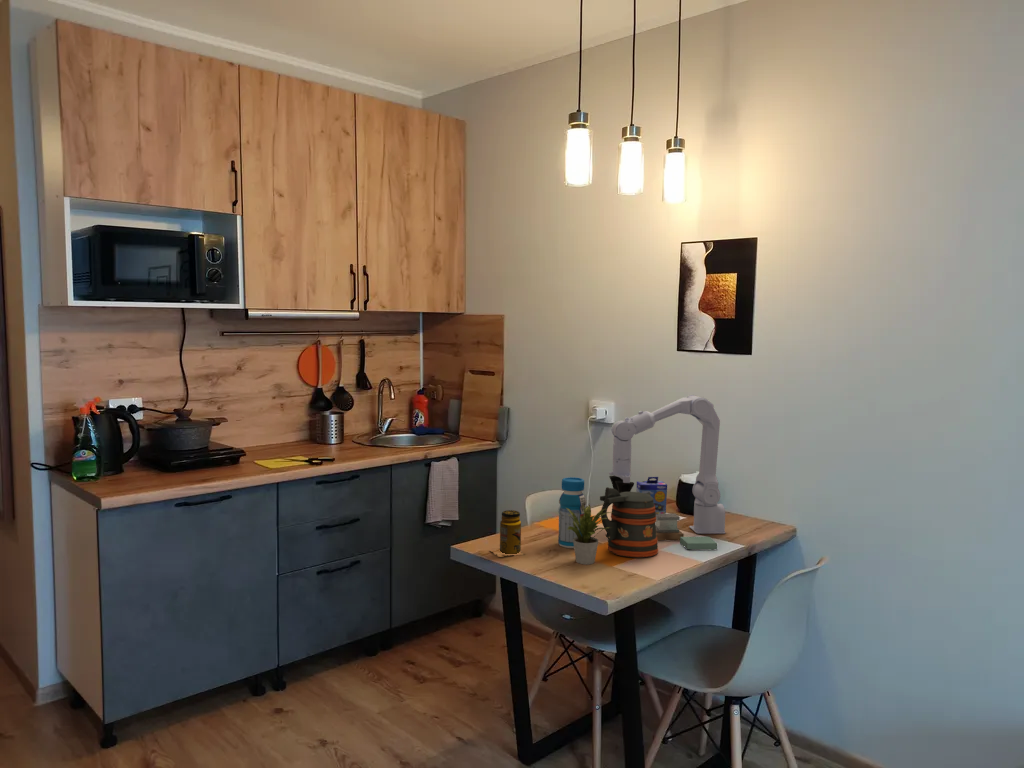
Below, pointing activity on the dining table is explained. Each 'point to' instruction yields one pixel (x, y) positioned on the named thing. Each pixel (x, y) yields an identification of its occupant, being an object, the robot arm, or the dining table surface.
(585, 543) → the house plant
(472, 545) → the dining table surface
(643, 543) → the beer stein
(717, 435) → the robot arm
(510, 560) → the dining table surface
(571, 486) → the beverage bottle
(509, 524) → the condiment
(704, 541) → the stand
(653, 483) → the ink cartridge box
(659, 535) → the stand
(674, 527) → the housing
